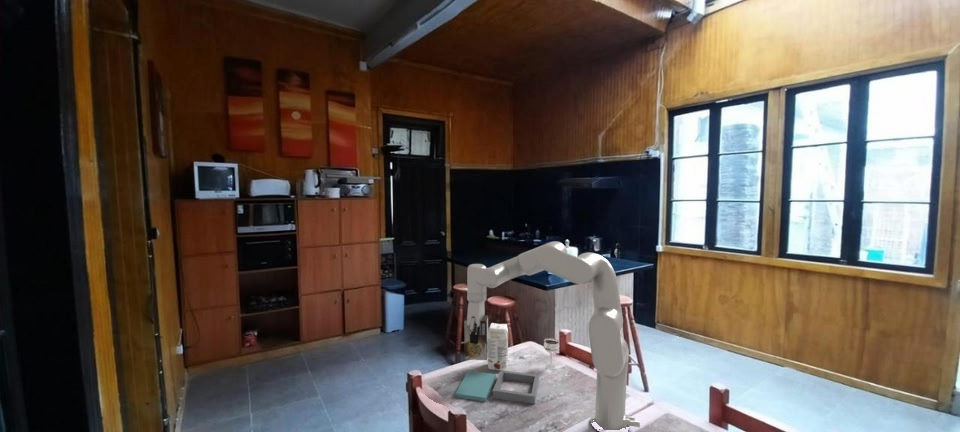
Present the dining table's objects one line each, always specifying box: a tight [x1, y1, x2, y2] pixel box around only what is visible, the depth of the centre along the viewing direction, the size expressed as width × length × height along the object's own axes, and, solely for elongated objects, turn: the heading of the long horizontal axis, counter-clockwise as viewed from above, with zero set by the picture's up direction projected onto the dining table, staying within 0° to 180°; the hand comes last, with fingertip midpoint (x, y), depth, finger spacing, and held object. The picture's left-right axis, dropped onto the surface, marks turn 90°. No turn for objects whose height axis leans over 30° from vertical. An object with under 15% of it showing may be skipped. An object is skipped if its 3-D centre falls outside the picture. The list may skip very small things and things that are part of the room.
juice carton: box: [487, 322, 509, 372], centre depth 169 cm, size 8×9×19 cm
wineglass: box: [543, 337, 560, 370], centre depth 170 cm, size 7×7×12 cm
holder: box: [492, 370, 540, 405], centre depth 152 cm, size 16×16×3 cm
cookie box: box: [463, 314, 489, 361], centre depth 152 cm, size 9×6×16 cm
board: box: [454, 370, 497, 402], centre depth 154 cm, size 12×18×2 cm, turn 166°
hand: (476, 339), depth 152 cm, fingers closed on cookie box, 7 cm apart
